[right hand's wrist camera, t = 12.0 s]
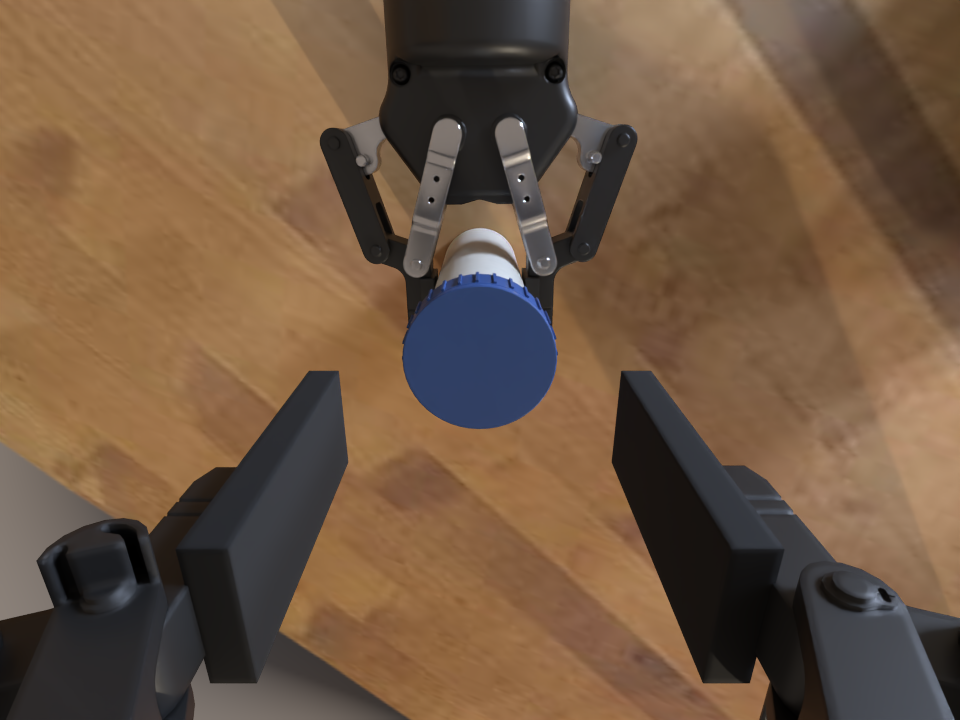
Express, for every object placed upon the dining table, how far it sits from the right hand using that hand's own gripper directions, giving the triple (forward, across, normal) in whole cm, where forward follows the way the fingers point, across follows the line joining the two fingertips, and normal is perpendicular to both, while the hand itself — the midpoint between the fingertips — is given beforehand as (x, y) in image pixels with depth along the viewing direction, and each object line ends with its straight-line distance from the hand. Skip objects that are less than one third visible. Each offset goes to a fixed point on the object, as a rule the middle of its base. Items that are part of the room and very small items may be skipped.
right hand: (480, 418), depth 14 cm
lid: (+4, 0, 0) cm, 4 cm away
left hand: (+13, 0, -3) cm, 13 cm away
